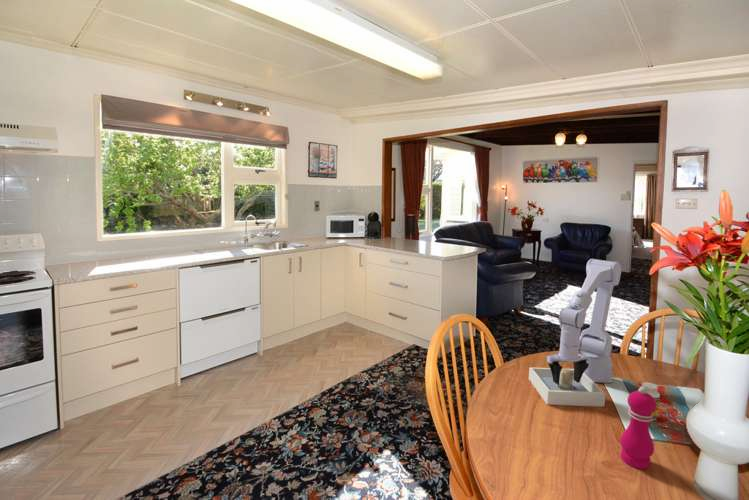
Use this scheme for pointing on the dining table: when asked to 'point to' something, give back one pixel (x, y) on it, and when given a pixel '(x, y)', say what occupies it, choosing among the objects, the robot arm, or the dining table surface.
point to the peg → (566, 379)
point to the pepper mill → (638, 430)
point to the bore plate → (553, 386)
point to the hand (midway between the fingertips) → (566, 381)
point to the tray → (567, 397)
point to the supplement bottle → (653, 392)
